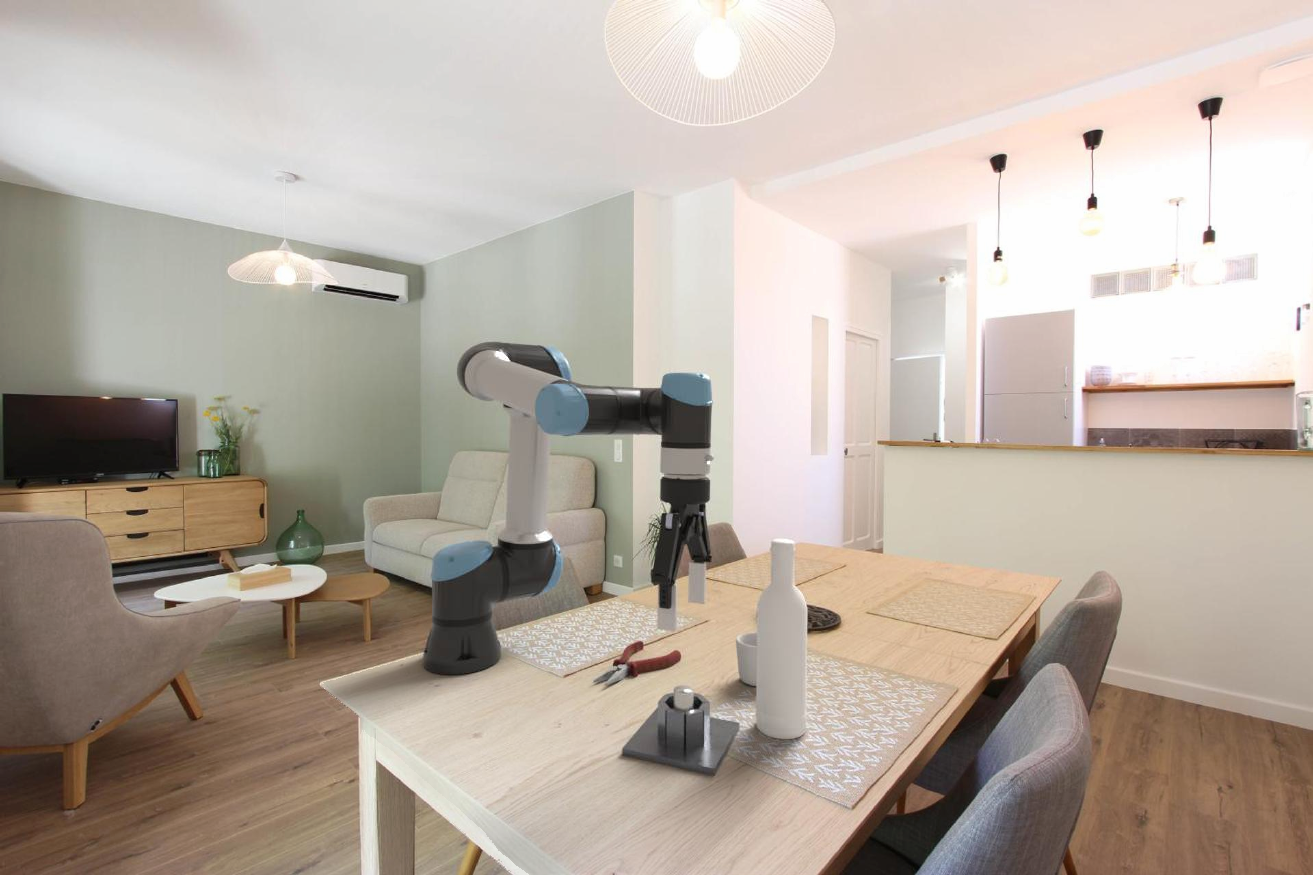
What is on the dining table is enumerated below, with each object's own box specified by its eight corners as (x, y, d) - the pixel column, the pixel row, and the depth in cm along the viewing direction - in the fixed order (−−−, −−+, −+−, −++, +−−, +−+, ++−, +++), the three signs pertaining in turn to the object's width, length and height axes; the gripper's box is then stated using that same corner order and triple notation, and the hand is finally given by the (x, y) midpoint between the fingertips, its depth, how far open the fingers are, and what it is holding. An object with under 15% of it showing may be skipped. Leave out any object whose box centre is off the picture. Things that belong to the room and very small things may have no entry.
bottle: (816, 736, 96) (818, 544, 95) (770, 743, 93) (772, 546, 93) (790, 712, 103) (792, 534, 103) (747, 719, 101) (749, 537, 100)
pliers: (575, 681, 116) (575, 668, 116) (638, 649, 133) (638, 637, 133) (624, 697, 110) (624, 683, 110) (683, 662, 126) (683, 649, 126)
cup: (796, 678, 117) (796, 636, 117) (790, 695, 110) (791, 651, 110) (740, 670, 121) (740, 629, 121) (731, 686, 113) (731, 643, 113)
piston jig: (622, 754, 90) (622, 700, 90) (657, 712, 103) (657, 665, 103) (714, 775, 85) (715, 718, 85) (739, 728, 98) (739, 679, 98)
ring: (651, 741, 92) (652, 708, 92) (669, 719, 99) (669, 688, 99) (699, 751, 89) (699, 717, 89) (714, 728, 96) (714, 696, 96)
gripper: (681, 485, 80) (678, 647, 81) (730, 470, 103) (728, 596, 104) (628, 482, 83) (626, 638, 83) (688, 468, 106) (686, 590, 107)
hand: (683, 615), depth 94 cm, fingers open, 13 cm apart
